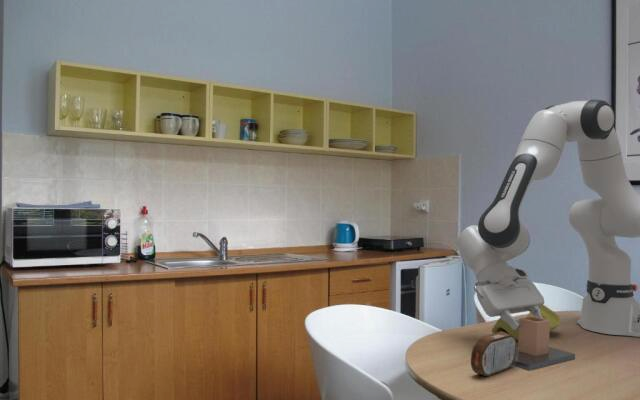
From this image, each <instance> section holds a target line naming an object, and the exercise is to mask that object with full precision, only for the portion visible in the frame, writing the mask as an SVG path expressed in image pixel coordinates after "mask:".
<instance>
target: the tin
mask: <svg viewBox="0 0 640 400" xmlns="http://www.w3.org/2000/svg"><path fill="white" fill-rule="evenodd" d="M516 345H518V341H517V339H516V338H515V337H514V336H512V335H511V334H509V333H508V332H506V331H505V332H497V333H490V334H485V335H482V336H480V337H479V338H478V339H477V340H476V342H475V343H474V345H473V348H472V351H471V354H470V355H471V356H470V364H471V365H470V366H471V369H472V371H473V372H474V374H479V375H481V376H485V377H490V376H493V375H495V374H499V373H502V372H505V371H507V370H509V369H510V368H511V367H512V366H513V365H512V364H513V362H514V360H515V354H516Z"/></svg>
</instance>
